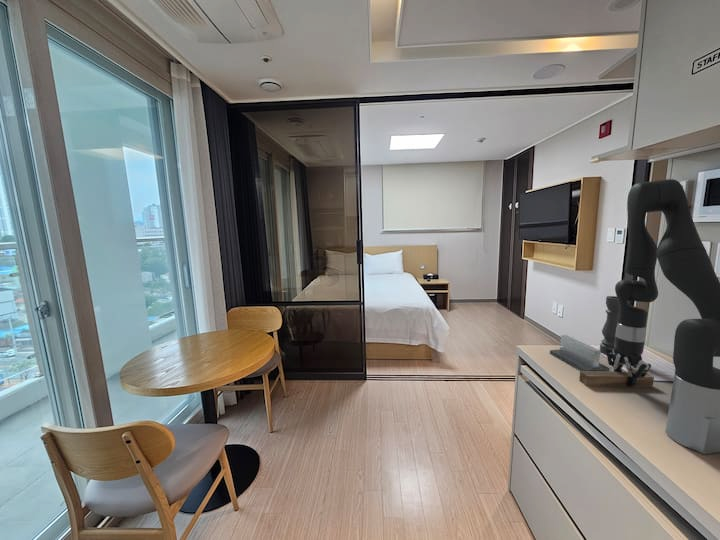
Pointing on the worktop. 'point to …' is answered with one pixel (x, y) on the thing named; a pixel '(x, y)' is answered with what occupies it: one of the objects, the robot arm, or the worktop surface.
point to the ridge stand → (579, 355)
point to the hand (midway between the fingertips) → (623, 382)
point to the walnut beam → (612, 379)
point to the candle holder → (610, 324)
